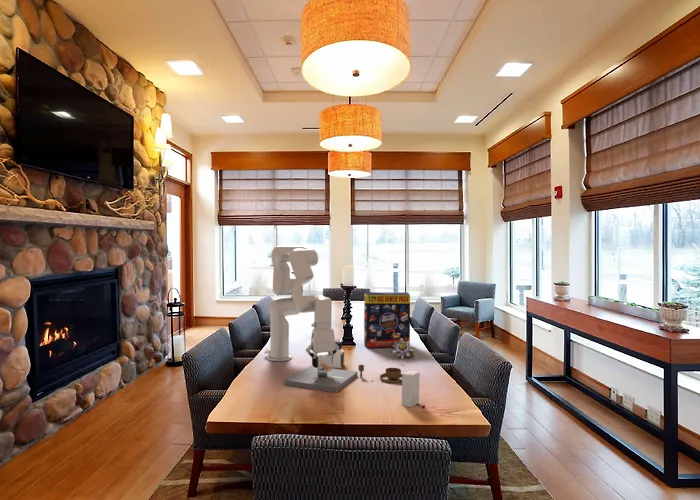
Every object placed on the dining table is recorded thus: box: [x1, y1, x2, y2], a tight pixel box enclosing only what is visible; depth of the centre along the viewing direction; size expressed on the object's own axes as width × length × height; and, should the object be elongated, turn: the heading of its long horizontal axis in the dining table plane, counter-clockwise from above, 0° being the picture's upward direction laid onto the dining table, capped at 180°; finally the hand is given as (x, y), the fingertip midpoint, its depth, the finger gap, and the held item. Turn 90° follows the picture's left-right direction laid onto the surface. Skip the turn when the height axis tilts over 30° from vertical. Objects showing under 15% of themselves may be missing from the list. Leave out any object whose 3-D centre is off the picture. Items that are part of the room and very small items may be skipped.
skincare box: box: [401, 370, 421, 408], centre depth 166 cm, size 6×4×12 cm
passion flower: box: [390, 338, 415, 360], centre depth 236 cm, size 11×11×12 cm
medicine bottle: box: [327, 340, 345, 369], centre depth 217 cm, size 7×7×12 cm
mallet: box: [316, 352, 332, 371], centre depth 191 cm, size 6×11×5 cm, turn 26°
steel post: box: [317, 368, 327, 377], centre depth 194 cm, size 4×4×4 cm
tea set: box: [358, 364, 403, 384], centre depth 199 cm, size 18×20×6 cm
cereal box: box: [363, 291, 411, 349], centre depth 260 cm, size 27×11×32 cm, turn 97°
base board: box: [283, 365, 359, 393], centre depth 194 cm, size 24×24×2 cm
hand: (322, 365), depth 194 cm, fingers closed on mallet, 6 cm apart
